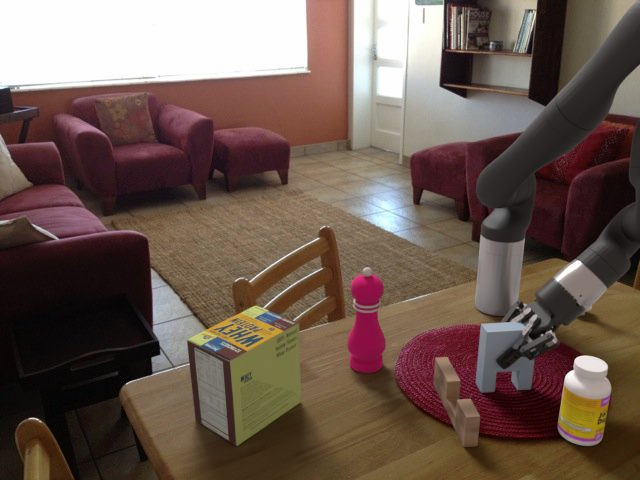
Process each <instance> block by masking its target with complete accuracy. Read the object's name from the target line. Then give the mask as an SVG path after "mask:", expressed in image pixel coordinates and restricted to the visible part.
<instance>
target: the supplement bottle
mask: <svg viewBox="0 0 640 480" xmlns="http://www.w3.org/2000/svg"><path fill="white" fill-rule="evenodd" d="M608 370H609V365H608V364H607V363H606V362H605V360H603V359H600V357H599V358H598V357H595V356H592V355H580V356H577V357H576V358H575V359H574V362H573V370H570V371H568V372H567V374H566V375H565V377H564V381H563V388H562V393H561V401H560V406H559V407H560V408H559V414H558V421H557V430H558V433H559V435H560V436H561V437H562V438H564V439H565V440H566V441H567V442H569V443H572V444H575V445H578V446H582V447H583V446H585V447H592V446H596V445H598V444H599V443H600V442H601V441H602V440H603V437H604V431H605V426H606V420H607V416H608V412H609V404H610V399H611V395H612V384H611V382H610V380H609V378H607V375H608Z"/></svg>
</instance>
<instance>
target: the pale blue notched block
mask: <svg viewBox="0 0 640 480" xmlns="http://www.w3.org/2000/svg"><path fill="white" fill-rule="evenodd" d="M524 328H525V326H524V325H523V324H522V322H510V321H509V322H504V323H500V322H490V323H488V322H487V323H481V324H480V328H479V329H480V330H479V331H480V332H479V341H478V342H479V343H478V353H477V362H476V373H475V374H476V375H475V385H476V386H477V388H478V390H479V392H480V393H481V394H484V393H485V394H486V393H495V392H496V391H495V390H496V384H497V383H496V381H497V373H504V372H505V373H506V372H511V377H510V378H511V379H510V382H512V384H513V385H514V387H515V389H516V390H517V391H523V390H525V391H526V390H527V391H528V390H531V389H532V384H533V383H532V382H533V377H534V376H533V374H534V367H535V359H536V358H535V359H533V360H529V359H528V358H526V357H520V358H519V359H518V360H517V361H516V362H515V363H513V364H512V365H511V366H510V367H509V368H507V369H502V368H501V367H500V366H499V365H498V364H497V363H496V360H497V359H498V358H499V357H500V356H501V355H502V354H503V353H505V352H506V351H507V350H508V349H509V348H510V347H512V348H513V345H514V344H515V343H516V342H517V340H518V339H519V338H520V333H521V332H522V331H523V329H524ZM529 338H530V339H531V340H534V339H532V338H531V337H530V336H529ZM526 344H527V343H526V342H525V343H524V344H523V345H522V346H524V345H526ZM535 350H537V349H535V348H534V349H532V350H531V352H533V351H535Z"/></svg>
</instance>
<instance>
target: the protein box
mask: <svg viewBox="0 0 640 480" xmlns="http://www.w3.org/2000/svg"><path fill="white" fill-rule="evenodd" d="M186 343H187V352H188V353H187V354H188V362H189V363H188V364H189V372H190V381H191V390H192V392H191V393H192V399H193V401H192V402H193V408H194V409H193V410H194V411H193V412H194V418H195V420H194V421H195V422H196V423H198V424H200V425H202V426H203V427H205V428H206V429H207V430H210V431H211V432H213V433H214V434H216V435H217V436H218V437H221V438H222V439H224V440H225V441H227V442H228V443H230V444H231V445H233V446H235V447H238V446H240V445H241V444H242V443H244V442H245V441H247V440H248V439H249V438H251V437H252V436H254V435H255V434H257V433H258V432H260V431H261V430H262V429H264V428H266V427H267V426H268V425H270V424H271V423H273V422H274V421H276V420H277V419H278V418H280V417H281V416H283V415H284V414H286V413H287V412H289V411H290V410H291V409H293V408H294V407H296V406H297V405H299V404H300V403H302V389H301V388H302V385H301V383H302V381H301V380H302V379H301V354H300V353H301V352H300V351H301V349H300V346H301V345H300V323H299V322H298V321H296V320H293V319H290V318H288V317H285V316H283V315H281V314H278V313H275V312H272V311H270V310H268V309H266V308H263V307H260V306H258V305H254V306H251V307H248V308H247V309H245V310H243V311H242V312H240V313H238V314H236V315H233V316H232V317H229V318H227V319H225V320H223V321H221V322H220V323H219V322H218V323H217V324H215V325H213V326H210V327H209V328H207V329H205V330H203V331H200V332H199V333H196V334H195V335H193V336H191V337H189V338H188V339H187V340H186Z"/></svg>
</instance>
